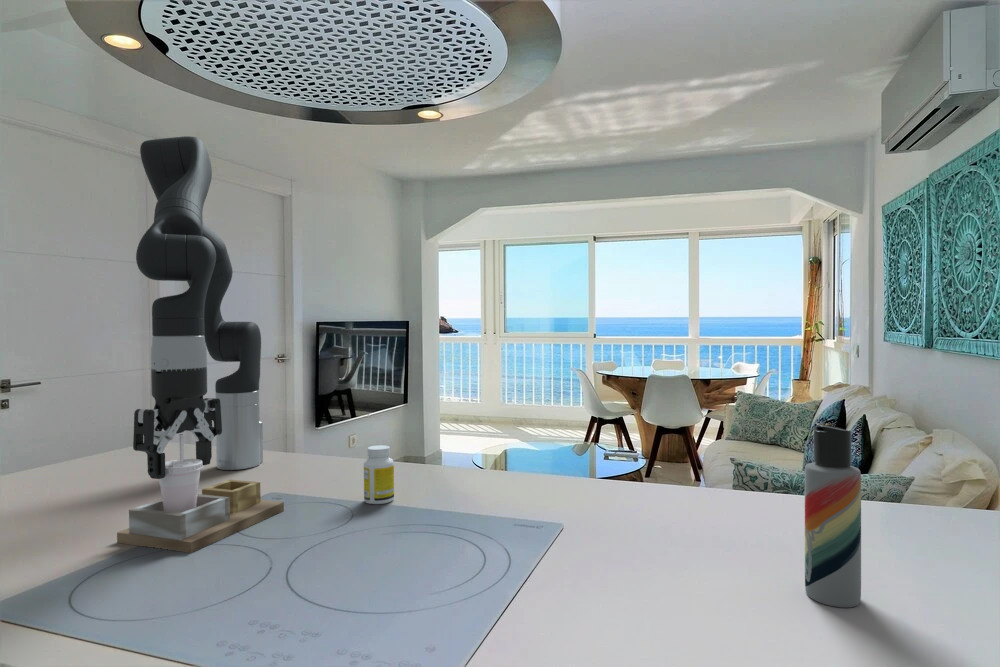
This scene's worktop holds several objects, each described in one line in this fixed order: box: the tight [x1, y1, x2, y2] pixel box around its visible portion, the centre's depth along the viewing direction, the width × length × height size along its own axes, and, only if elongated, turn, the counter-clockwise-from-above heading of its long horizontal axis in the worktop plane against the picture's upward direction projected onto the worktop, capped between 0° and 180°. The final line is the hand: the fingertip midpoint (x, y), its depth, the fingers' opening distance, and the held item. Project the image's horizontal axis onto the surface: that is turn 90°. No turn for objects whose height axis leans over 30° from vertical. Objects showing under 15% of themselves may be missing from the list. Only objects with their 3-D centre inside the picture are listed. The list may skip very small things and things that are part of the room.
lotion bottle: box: [804, 424, 862, 608], centre depth 69 cm, size 6×6×20 cm
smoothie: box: [158, 433, 204, 513], centre depth 91 cm, size 6×6×14 cm
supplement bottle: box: [363, 444, 395, 505], centre depth 108 cm, size 5×5×10 cm
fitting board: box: [116, 479, 285, 554], centre depth 95 cm, size 20×14×5 cm
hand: (181, 471), depth 91 cm, fingers open, 8 cm apart
